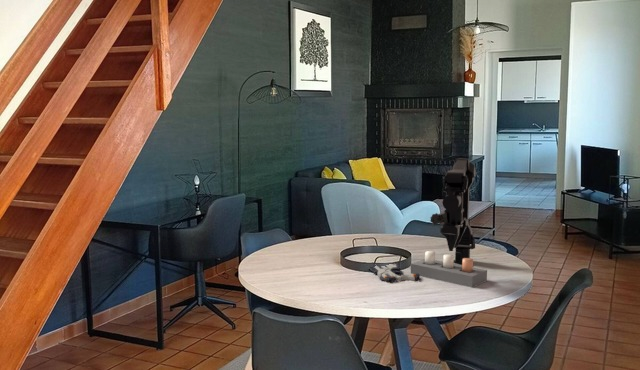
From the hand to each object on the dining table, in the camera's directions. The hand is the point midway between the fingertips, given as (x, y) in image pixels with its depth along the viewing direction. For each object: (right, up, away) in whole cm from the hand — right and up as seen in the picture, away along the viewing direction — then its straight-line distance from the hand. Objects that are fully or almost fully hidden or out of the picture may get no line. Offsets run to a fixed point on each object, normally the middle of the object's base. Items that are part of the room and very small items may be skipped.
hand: (453, 248), depth 226 cm
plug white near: (-7, -7, +10) cm, 14 cm away
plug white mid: (-1, -8, +5) cm, 9 cm away
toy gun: (-21, -12, +9) cm, 26 cm away
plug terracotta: (+5, -9, -1) cm, 10 cm away
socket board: (-1, -11, +5) cm, 13 cm away
